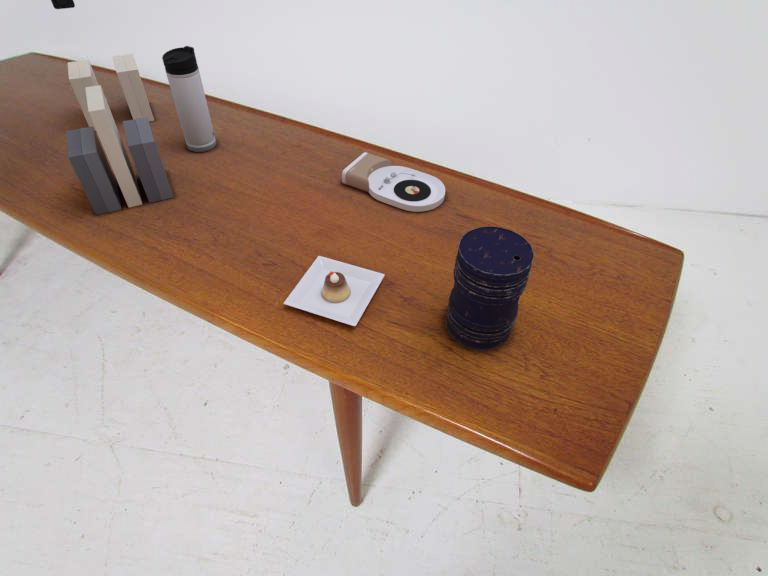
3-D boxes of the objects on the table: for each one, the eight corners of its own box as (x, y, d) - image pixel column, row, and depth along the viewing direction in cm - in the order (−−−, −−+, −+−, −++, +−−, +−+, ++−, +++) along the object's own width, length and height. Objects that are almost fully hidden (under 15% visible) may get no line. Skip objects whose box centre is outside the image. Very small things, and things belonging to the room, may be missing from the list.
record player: (368, 148, 105) (455, 176, 98) (368, 161, 107) (453, 189, 100) (338, 174, 98) (430, 206, 91) (338, 187, 100) (428, 219, 93)
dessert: (319, 260, 84) (317, 238, 81) (385, 279, 81) (385, 257, 78) (283, 308, 76) (279, 286, 73) (355, 331, 73) (354, 309, 70)
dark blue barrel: (433, 331, 74) (443, 255, 63) (463, 292, 80) (478, 217, 69) (494, 362, 70) (517, 286, 59) (521, 319, 76) (546, 243, 65)
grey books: (96, 215, 92) (68, 157, 83) (92, 187, 98) (66, 130, 90) (173, 197, 96) (154, 141, 88) (165, 172, 103) (147, 116, 94)
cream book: (128, 208, 94) (88, 111, 80) (123, 180, 100) (85, 87, 87) (142, 204, 94) (104, 108, 81) (136, 178, 101) (100, 84, 87)
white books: (91, 131, 114) (68, 79, 105) (88, 113, 120) (67, 62, 111) (154, 120, 118) (137, 69, 110) (148, 103, 124) (132, 53, 116)
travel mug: (223, 142, 111) (202, 49, 97) (202, 155, 107) (176, 60, 93) (203, 135, 114) (179, 42, 99) (181, 147, 110) (153, 53, 95)
